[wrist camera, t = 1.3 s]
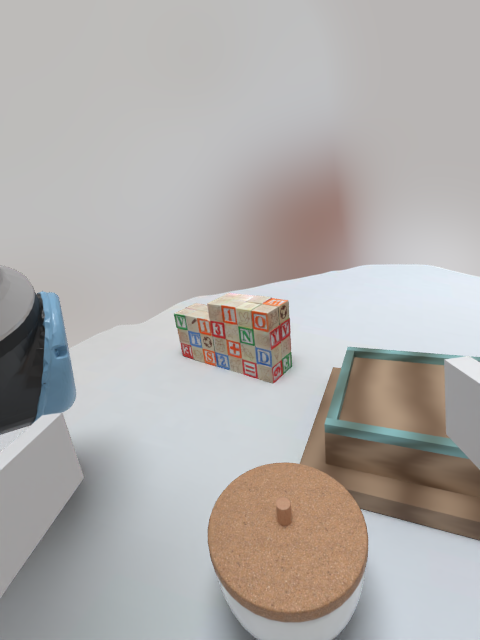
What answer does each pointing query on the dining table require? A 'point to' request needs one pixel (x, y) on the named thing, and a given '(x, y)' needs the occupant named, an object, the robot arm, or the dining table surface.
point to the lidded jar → (289, 552)
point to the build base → (395, 440)
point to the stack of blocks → (239, 334)
